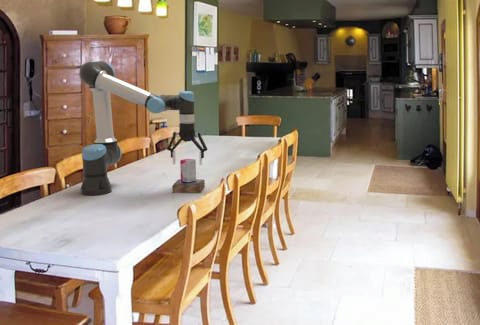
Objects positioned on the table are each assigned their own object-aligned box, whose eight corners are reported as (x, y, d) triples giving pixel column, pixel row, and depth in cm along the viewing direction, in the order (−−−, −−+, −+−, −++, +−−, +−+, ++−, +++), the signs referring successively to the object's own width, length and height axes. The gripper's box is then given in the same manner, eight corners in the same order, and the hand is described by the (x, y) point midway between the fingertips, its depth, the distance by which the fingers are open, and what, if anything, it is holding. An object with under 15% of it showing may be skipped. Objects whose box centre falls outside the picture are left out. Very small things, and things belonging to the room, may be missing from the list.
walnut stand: (172, 192, 287) (172, 184, 286) (178, 186, 301) (177, 178, 300) (200, 192, 286) (200, 185, 285) (204, 186, 299) (204, 178, 299)
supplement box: (196, 181, 293) (196, 159, 291) (188, 183, 288) (188, 161, 286) (188, 180, 296) (187, 158, 294) (180, 182, 292) (179, 159, 290)
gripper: (160, 123, 284) (161, 165, 288) (210, 123, 282) (210, 166, 286) (163, 121, 292) (164, 162, 296) (212, 122, 289) (212, 163, 293)
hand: (187, 164), depth 291 cm, fingers open, 13 cm apart
